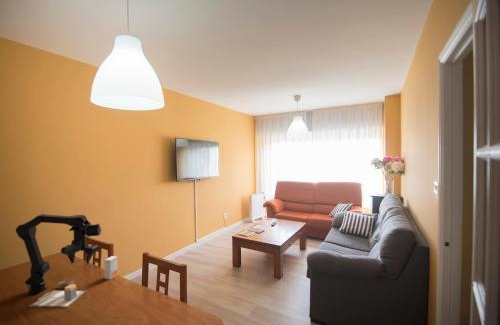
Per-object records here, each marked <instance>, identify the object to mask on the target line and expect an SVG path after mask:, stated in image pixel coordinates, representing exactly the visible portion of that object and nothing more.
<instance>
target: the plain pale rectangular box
mask: <svg viewBox="0 0 500 325" xmlns="http://www.w3.org/2000/svg"><path fill="white" fill-rule="evenodd" d="M70 284H75V280H61V281H60V282H59V283H57V290H61V289H62V290H63V289H65V287H67V286H68V285H70Z"/></svg>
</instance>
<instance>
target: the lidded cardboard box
mask: <svg viewBox="0 0 500 325" xmlns="http://www.w3.org/2000/svg"><path fill="white" fill-rule="evenodd" d="M77 291H78V290H77V284H70V285H68V286H67V287H65V288H64V299H65V300H72V299H74V298H75V297H76V296H77Z"/></svg>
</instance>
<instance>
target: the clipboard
mask: <svg viewBox="0 0 500 325" xmlns="http://www.w3.org/2000/svg"><path fill="white" fill-rule="evenodd" d="M64 290H65V289H64ZM64 290H63V289H62V290H61V289H53V290H52V291H50V292H47V293H45V294H43V295H42V296H40V297H39V298H37V299H36V301H34V302H33V303H32V304H30V305H28V307H29V308H52V309H53V308H55V309H56V308H58V309H59V308H60V309H61V308H62V309H68V308H69V307H71V305H73V304H74V303H75V302H77V301H78V300H79V299H80V298H81V297H83V296H84V295H85V294H87V293H88V291H89V290H77V296H76V297H75V298H74V299H72V300H65V299H64Z"/></svg>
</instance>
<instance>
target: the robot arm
mask: <svg viewBox="0 0 500 325" xmlns="http://www.w3.org/2000/svg"><path fill="white" fill-rule="evenodd" d="M41 223H45V224H46V223H48V224H63V225H68V226H70V227H71V228H69V229H68V231H69V232H72V231H73V239H72V240H71V243H70V244H67V245H65V246H62V247H61V249H60V254H63V255H65V256H67V257H68V259H69V261H70V263H71V264H74V263H75V257H76V256H75V255H76V254H77V253H78V252H80V251H84V252H85V253H84V255H85V256H86V257H85V258H86V264H87V265H88V264H89V263H90V261H91V260H92V257H93V256H94V254H95V253H96V252H97V251H99V246H98V244H91V245H89V246H88V243H87V242H86V240H88V237H98V236H100V235H101V234H102V228H101V226H100V223H96V224H92V223H91V222H90V221H89V220H88V219H87V217H86V215H85V214H76V215H55V214H44V213H41V214H38V215H37V216H35V217H34V218H32V219H30V220H29V221H26V222H24V223H22V224H19V225H17V227H16V228H15V233H16V235H17V236H18V238H20V239H21V240H22V241H23V243H24V246H25V249H26V251H27V255H28V259H29V261H30V264H31V265H30V270H29V272H30V273H29V274H30V277H28V278H27V279H26V280H25V281H24V283H25V285H27V288H28V291H27V292H25V295H31V296H33V295H35V296H37V295H38V294H40V293H41V292H43V291H45V290H47V289H48V287H47V286H46V285H45V284H46V283H45V277H46V275H47V274H48V273H49V272H50V271H51V270H50V268H51V266H50V264H49V263H50V262H49V260H47V261H45V260H44V259H43V258H42V254H41V251H40V247H39V244H38V242H37V238H36V235H37V234H36V233H37V226H38V225H40V224H41Z"/></svg>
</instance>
